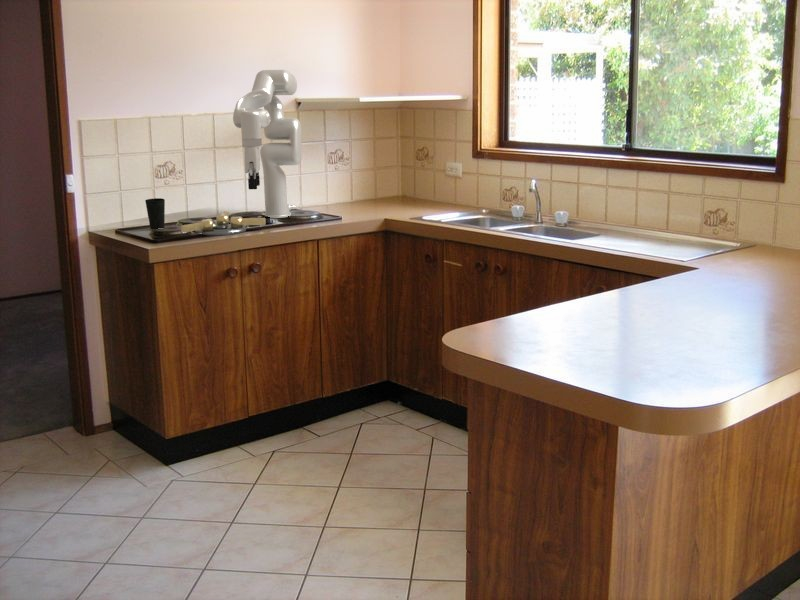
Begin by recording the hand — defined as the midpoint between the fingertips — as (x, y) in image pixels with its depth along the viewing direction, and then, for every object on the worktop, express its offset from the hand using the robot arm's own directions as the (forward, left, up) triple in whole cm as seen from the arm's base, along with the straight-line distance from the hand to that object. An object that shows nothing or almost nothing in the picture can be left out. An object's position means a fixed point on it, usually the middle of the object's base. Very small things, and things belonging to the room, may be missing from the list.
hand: (254, 187), depth 353 cm
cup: (+20, -40, -19) cm, 48 cm away
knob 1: (-2, -24, -17) cm, 29 cm away
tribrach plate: (+6, -16, -18) cm, 25 cm away
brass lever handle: (-2, -8, -17) cm, 19 cm away
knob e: (+17, -16, -17) cm, 29 cm away
